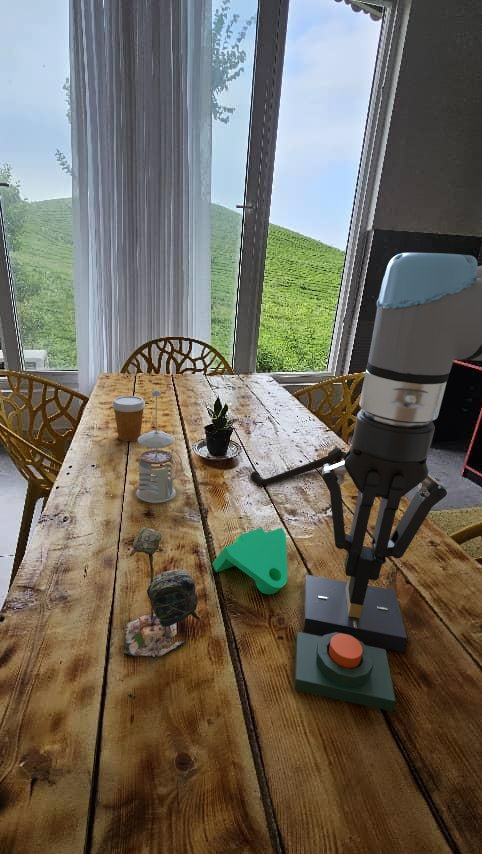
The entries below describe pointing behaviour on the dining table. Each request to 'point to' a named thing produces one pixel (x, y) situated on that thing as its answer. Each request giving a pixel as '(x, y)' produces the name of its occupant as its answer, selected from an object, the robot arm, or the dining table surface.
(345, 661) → the release button
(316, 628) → the black flat block
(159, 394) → the french press
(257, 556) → the camera mount
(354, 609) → the olive tan box
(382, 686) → the box
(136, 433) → the disposable coffee cup
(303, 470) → the wrench
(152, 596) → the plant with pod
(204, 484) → the dining table surface
